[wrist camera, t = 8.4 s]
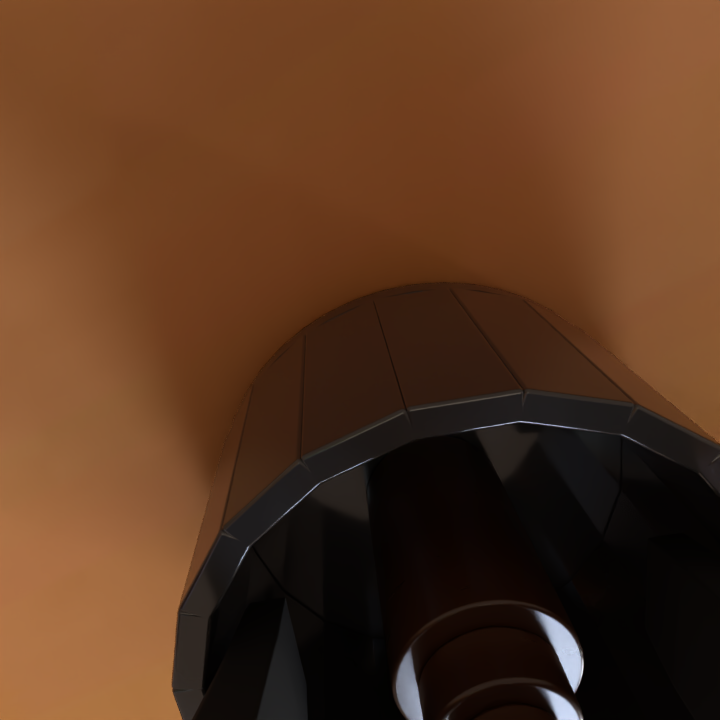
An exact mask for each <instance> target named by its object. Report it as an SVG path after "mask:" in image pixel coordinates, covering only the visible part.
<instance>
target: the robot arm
mask: <svg viewBox="0 0 720 720" xmlns="http://www.w3.org/2000/svg"><path fill="white" fill-rule="evenodd" d="M645 629H646V631H647V634H648V636H649V638H650V640H651V642H652V644H653V646H654V648H655V650H656V652H657V654H658V657H659V659H660V661H661V663H662V665H663V667H664V668H665V670H666V672H667V674H668V676H669V678H670V680H671V682H672V684H673V686H674V688H675V689H676V691H677V693H678V694H679V696H680V697H681V699H682V701H683V702H684V704H685V705H686V707H687V708H688V710H689V712H690V713H691V715H692V716H693V718H694V719H695V720H720V555H718V554H716V553H715V552H713V551H712V550H710V549H709V548H707V547H705V546H704V545H702V544H701V543H699V542H698V541H696V540H694V539H693V538H691V537H689V536H688V535H686V534H684V533H678V534H672V535H665V536H659V537H653V538H648V555H647V583H646V610H645ZM192 720H308V712H307V685H306V680H305V675H304V671H303V667H302V663H301V659H300V655H299V651H298V647H297V643H296V639H295V635H294V631H293V627H292V623H291V619H290V614H289V610H288V606H287V602H286V598H285V597H284V598H278V599H272V600H266V601H259V602H253V603H250V604H249V605H248V607H247V608H246V609H245V611H244V614H243V616H242V618H241V621H240V623H239V625H238V628H237V630H236V632H235V634H234V637H233V639H232V641H231V643H230V645H229V647H228V650H227V652H226V654H225V656H224V658H223V660H222V662H221V664H220V666H219V668H218V670H217V672H216V674H215V676H214V678H213V680H212V682H211V684H210V686H209V688H208V690H207V692H206V694H205V696H204V697H203V699H202V701H201V703H200V705H199V707H198V709H197V711H196V713H195V715H194V716H193V718H192Z"/></svg>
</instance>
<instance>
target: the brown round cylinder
mask: <svg viewBox="0 0 720 720" xmlns="http://www.w3.org/2000/svg"><path fill="white" fill-rule="evenodd" d="M438 436H448V437H454V438H457V439H461V440H464V441H466V442H468V443H470V444H472V445H474V446H475V447H477V448H478V449H480V450H481V451H482V452H483V453H484V454H485V455H486V456H487V457H488V458H489V460H490V461H491V463H492V464H493V466H494V468H495V470H496V472H497V474H498V476H499V478H500V480H501V482H502V484H503V486H504V488H505V490H506V492H507V494H508V496H509V498H510V500H511V502H512V504H513V506H514V508H515V510H516V512H517V514H518V516H519V518H520V520H521V522H522V524H523V526H524V528H525V530H526V532H527V534H528V536H529V538H530V540H531V542H532V544H533V546H534V549H535V551H536V553H537V555H538V557H539V559H540V561H541V563H542V565H543V567H544V569H545V571H546V573H547V575H548V577H549V579H550V581H551V583H552V585H553V587H554V589H555V591H556V593H557V595H558V597H559V599H560V601H561V603H562V605H563V607H564V609H565V611H566V613H567V615H568V617H569V619H570V621H571V623H572V625H573V627H574V629H575V631H576V633H577V635H578V637H579V639H580V642H581V645H582V649H583V654H584V668H583V675H582V678H581V682H580V685H579V687H578V689H577V691H576V693H575V696H576V698H577V700H578V702H579V705H580V707H581V709H582V713H583V719H584V720H695V719H694V718H693V716H692V715H691V713H690V712H689V710H688V708H687V707H686V705H685V704H684V702H683V701H682V699H681V697H680V696H679V694H678V693H677V691H676V689H675V688H674V686H673V684H672V682H671V680H670V678H669V676H668V674H667V672H666V670H665V668H664V667H663V665H662V663H661V661H660V659H659V657H658V654H657V652H656V650H655V648H654V646H653V644H652V642H651V640H650V638H649V636H648V634H647V631H646V629H645V610H646V583H647V555H648V538H653V537H659V536H665V535H672V534H678V533H684V534H686V535H688V536H689V537H691V538H693V539H694V540H696V541H698V542H699V543H701V544H702V545H704V546H705V547H707V548H709V549H710V550H712V551H713V552H715V553H716V554H718V555H720V443H718V442H717V441H716V440H715V439H714V438H712V437H711V436H710V435H709V434H708V433H706V432H705V431H704V430H703V429H701V428H700V427H699V426H698V425H697V424H695V423H694V422H693V421H692V420H691V419H689V418H688V417H687V416H686V415H685V414H683V413H682V412H681V411H680V410H679V409H677V408H676V407H675V406H674V405H673V404H671V403H670V402H669V401H668V400H667V399H665V398H664V397H663V396H662V395H660V394H659V393H658V392H657V391H656V390H654V389H653V388H652V387H651V386H650V385H648V384H647V383H646V382H645V381H644V380H642V379H641V378H640V377H639V376H638V375H636V374H635V373H634V372H633V371H632V370H630V369H629V368H628V367H627V366H626V365H624V364H623V363H622V362H621V361H619V360H618V359H617V358H616V357H615V356H613V355H612V354H611V353H610V352H609V351H607V350H606V349H605V348H604V347H603V346H601V345H600V344H599V343H598V342H597V341H595V340H594V339H593V338H592V337H591V336H589V335H588V334H587V333H586V332H584V331H583V330H582V329H580V328H578V327H576V326H575V325H573V324H571V323H569V322H568V321H566V320H565V319H563V318H562V317H560V316H559V315H558V314H556V313H555V312H553V311H552V310H550V309H548V308H546V307H544V306H542V305H540V304H538V303H536V302H534V301H532V300H530V299H527V298H525V297H522V296H519V295H516V294H513V293H510V292H507V291H504V290H500V289H495V288H490V287H485V286H480V285H475V284H461V283H444V282H443V283H428V284H414V285H408V286H403V287H398V288H393V289H388V290H383V291H380V292H377V293H374V294H371V295H368V296H365V297H362V298H359V299H356V300H354V301H351V302H349V303H347V304H345V305H343V306H341V307H339V308H337V309H335V310H333V311H331V312H329V313H327V314H325V315H324V316H322V317H320V318H319V319H317V320H316V321H314V322H313V323H311V324H310V325H308V326H307V327H305V328H304V329H302V330H301V331H300V332H299V333H297V334H296V335H295V336H294V337H293V338H292V339H290V340H289V341H288V342H287V343H286V344H284V345H283V346H282V347H281V348H280V349H279V350H278V351H277V352H276V353H275V355H274V356H273V357H272V358H271V359H270V360H269V361H268V362H267V363H266V365H265V366H264V367H263V368H262V369H261V370H260V372H259V373H258V375H257V376H256V378H255V379H254V381H253V382H252V384H251V385H250V387H249V388H248V390H247V391H246V393H245V395H244V397H243V399H242V402H241V404H240V406H239V408H238V410H237V412H236V414H235V416H234V420H233V423H232V426H231V428H230V430H229V432H228V434H227V436H226V438H225V441H224V445H223V448H222V452H221V455H220V459H219V463H218V466H217V470H216V473H215V477H214V481H213V484H212V488H211V492H210V495H209V499H208V503H207V506H206V510H205V514H204V517H203V521H202V524H201V528H200V532H199V535H198V539H197V543H196V546H195V550H194V554H193V557H192V561H191V565H190V568H189V572H188V575H187V579H186V583H185V586H184V590H183V594H182V597H181V601H180V605H179V608H178V612H177V624H176V636H175V648H174V660H173V673H172V688H173V690H172V691H173V694H174V697H175V700H176V702H177V705H178V708H179V711H180V714H181V716H182V719H183V720H192V718H193V716H194V715H195V713H196V711H197V709H198V707H199V705H200V703H201V701H202V699H203V697H204V696H205V694H206V692H207V690H208V688H209V686H210V684H211V682H212V680H213V678H214V676H215V674H216V672H217V670H218V668H219V666H220V664H221V662H222V660H223V658H224V656H225V654H226V652H227V650H228V647H229V645H230V643H231V641H232V639H233V637H234V634H235V632H236V630H237V628H238V625H239V623H240V621H241V618H242V616H243V614H244V611H245V609H246V608H247V607H248V605H249V604H250V603H253V602H259V601H266V600H272V599H278V598H284V597H285V598H286V602H287V606H288V610H289V614H290V619H291V623H292V627H293V631H294V635H295V639H296V643H297V647H298V651H299V655H300V659H301V663H302V667H303V671H304V675H305V680H306V685H307V712H308V720H406V719H405V718H404V716H403V715H402V713H401V712H400V710H399V709H398V707H397V705H396V703H395V701H394V698H393V694H392V690H391V683H390V675H389V668H388V660H387V652H386V645H385V637H384V629H383V622H382V614H381V606H380V599H379V591H378V583H377V576H376V568H375V560H374V553H373V545H372V537H371V530H370V522H369V514H368V507H367V489H368V485H369V481H370V479H371V476H372V474H373V472H374V471H375V469H376V467H377V466H378V465H379V463H380V462H381V461H382V460H383V459H384V458H385V457H386V456H387V455H388V454H389V453H390V452H392V451H393V450H395V449H398V448H400V447H402V446H404V445H406V444H408V443H410V442H413V441H415V440H419V439H425V438H431V437H438Z"/></svg>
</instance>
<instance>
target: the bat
mask: <svg viewBox="0 0 720 720" xmlns="http://www.w3.org/2000/svg"><path fill="white" fill-rule="evenodd" d="M367 507H368V514H369V522H370V530H371V537H372V545H373V553H374V560H375V568H376V576H377V583H378V591H379V599H380V606H381V614H382V622H383V629H384V637H385V645H386V652H387V660H388V668H389V675H390V683H391V690H392V694H393V698H394V701H395V703H396V705H397V707H398V709H399V710H400V712H401V713H402V715H403V716H404V718H405V719H406V720H584V719H583V713H582V709H581V707H580V705H579V702H578V700H577V698H576V696H575V693H576V691H577V689H578V687H579V685H580V682H581V678H582V675H583V668H584V654H583V649H582V645H581V642H580V639H579V637H578V635H577V633H576V631H575V629H574V627H573V625H572V623H571V621H570V619H569V617H568V615H567V613H566V611H565V609H564V607H563V605H562V603H561V601H560V599H559V597H558V595H557V593H556V591H555V589H554V587H553V585H552V583H551V581H550V579H549V577H548V575H547V573H546V571H545V569H544V567H543V565H542V563H541V561H540V559H539V557H538V555H537V553H536V551H535V549H534V546H533V544H532V542H531V540H530V538H529V536H528V534H527V532H526V530H525V528H524V526H523V524H522V522H521V520H520V518H519V516H518V514H517V512H516V510H515V508H514V506H513V504H512V502H511V500H510V498H509V496H508V494H507V492H506V490H505V488H504V486H503V484H502V482H501V480H500V478H499V476H498V474H497V472H496V470H495V468H494V466H493V464H492V463H491V461H490V460H489V458H488V457H487V456H486V455H485V454H484V453H483V452H482V451H481V450H480V449H478V448H477V447H475V446H474V445H472V444H470V443H468V442H466V441H464V440H461V439H457V438H454V437H448V436H438V437H431V438H425V439H419V440H415V441H413V442H410V443H408V444H406V445H404V446H402V447H400V448H398V449H395V450H393V451H392V452H390V453H389V454H388V455H387V456H386V457H385V458H384V459H383V460H382V461H381V462H380V463H379V465H378V466H377V467H376V469H375V471H374V472H373V474H372V476H371V479H370V481H369V485H368V489H367Z"/></svg>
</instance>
